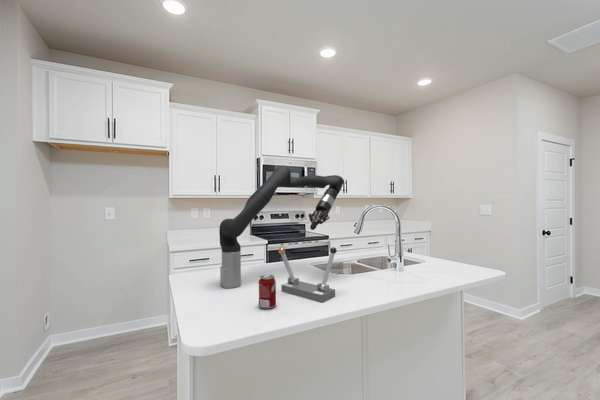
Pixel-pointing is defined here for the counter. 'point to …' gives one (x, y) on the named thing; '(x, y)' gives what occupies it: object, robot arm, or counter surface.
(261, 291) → the soda can
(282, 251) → the copper lever
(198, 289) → the counter surface
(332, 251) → the black lever
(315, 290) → the switch bar
